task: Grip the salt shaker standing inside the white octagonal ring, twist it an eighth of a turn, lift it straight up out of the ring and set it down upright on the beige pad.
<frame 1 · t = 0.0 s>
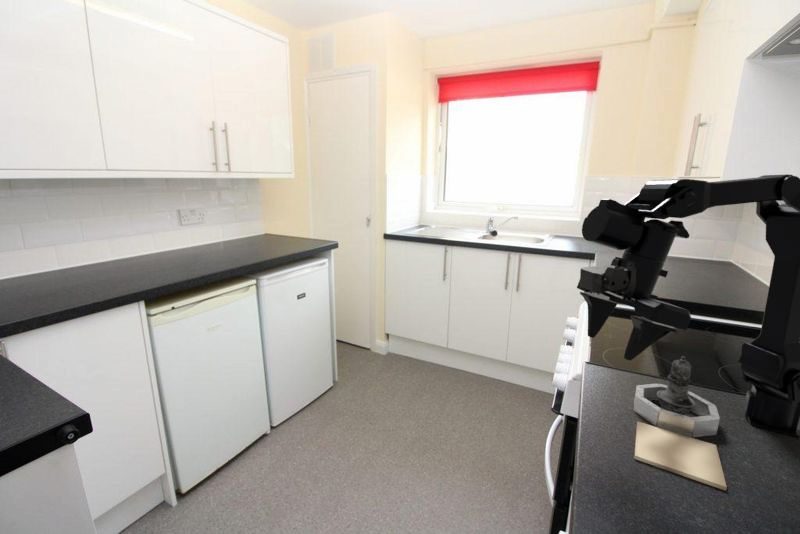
hand: (607, 347, 62), 15 cm above the counter, tool pointing down, fingers open, 9 cm apart
beige pad: (675, 453, 60), on the counter
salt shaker: (672, 416, 71), resting in white octagonal ring
white octagonal ring: (672, 415, 71), on the counter
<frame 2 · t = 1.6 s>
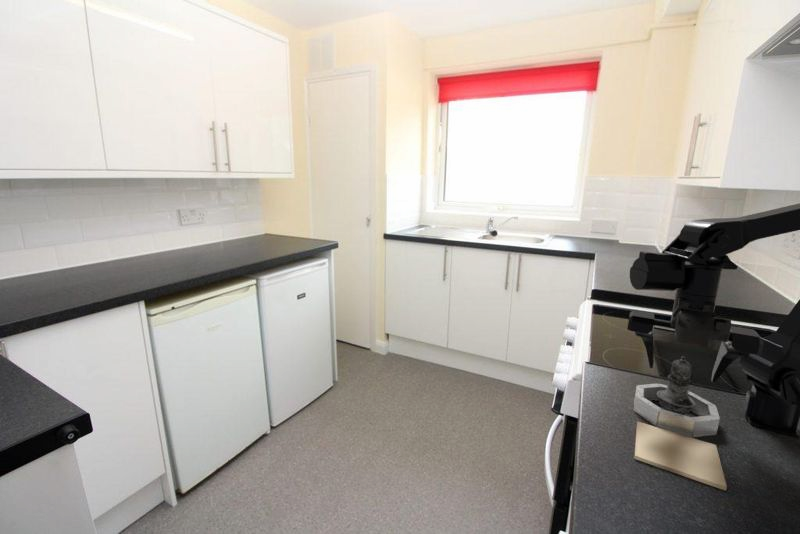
hand: (680, 374, 69), 8 cm above the counter, tool pointing down, fingers open, 9 cm apart
nothing on the counter moved.
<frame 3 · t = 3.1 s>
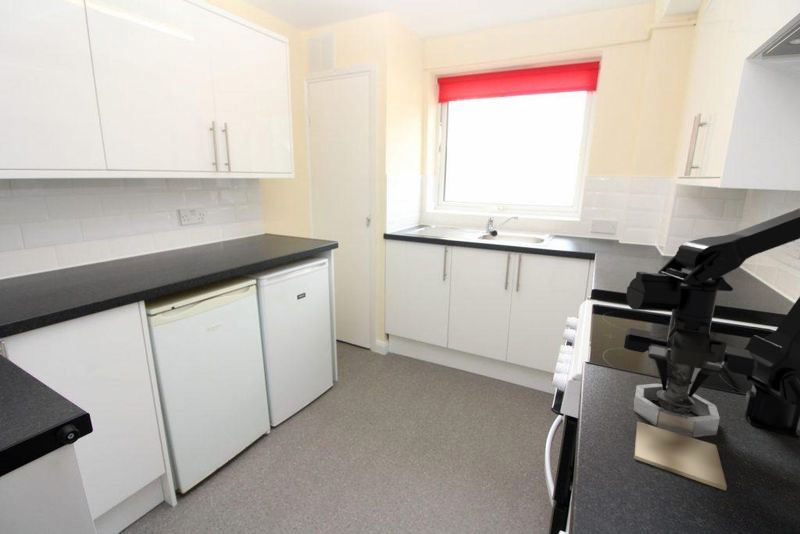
hand: (676, 392, 70), 5 cm above the counter, tool pointing down, fingers closed on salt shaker, 3 cm apart
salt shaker: (672, 416, 71), resting in white octagonal ring, touching gripper
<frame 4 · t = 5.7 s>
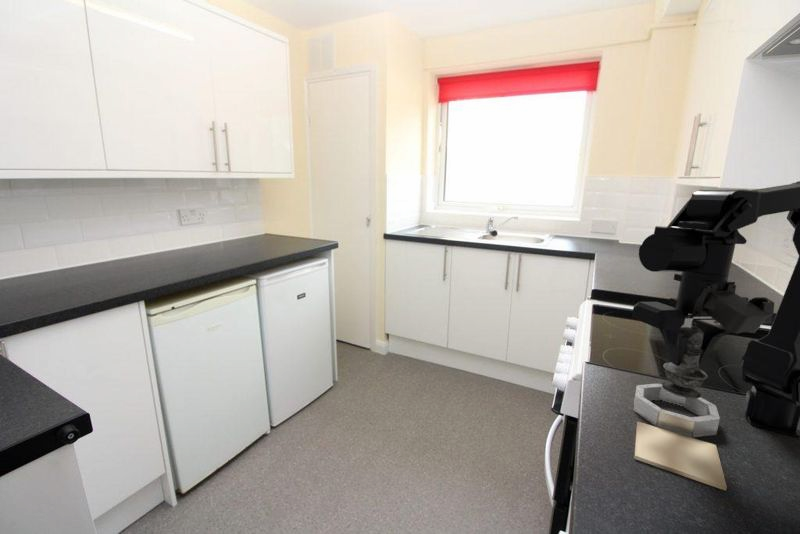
hand: (685, 364, 62), 13 cm above the counter, tool pointing down, fingers closed on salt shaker, 3 cm apart
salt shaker: (680, 391, 63), point 9 cm above the counter, touching gripper
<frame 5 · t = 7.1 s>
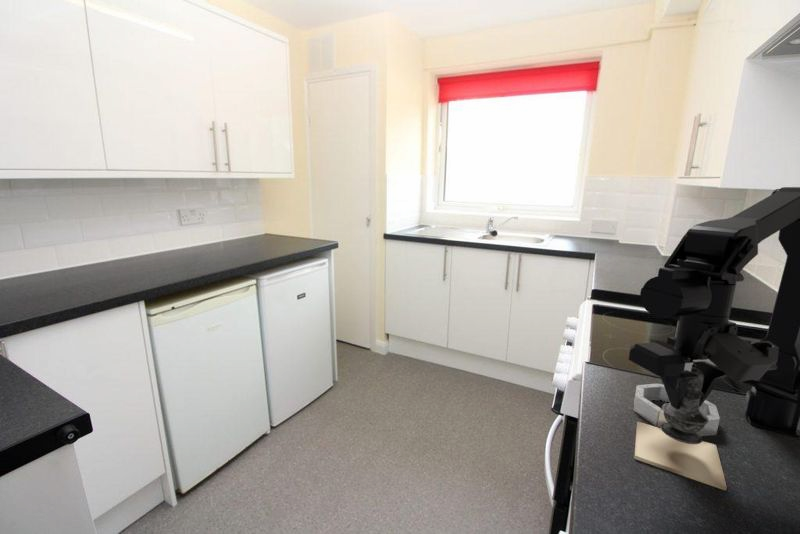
hand: (685, 406, 59), 8 cm above the counter, tool pointing down, fingers closed on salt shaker, 3 cm apart
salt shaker: (680, 434, 60), point 3 cm above the counter, touching gripper
when the fingers open (7 cm above the counter, at t = 8.2 s): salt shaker drops 1 cm, resting on beige pad.
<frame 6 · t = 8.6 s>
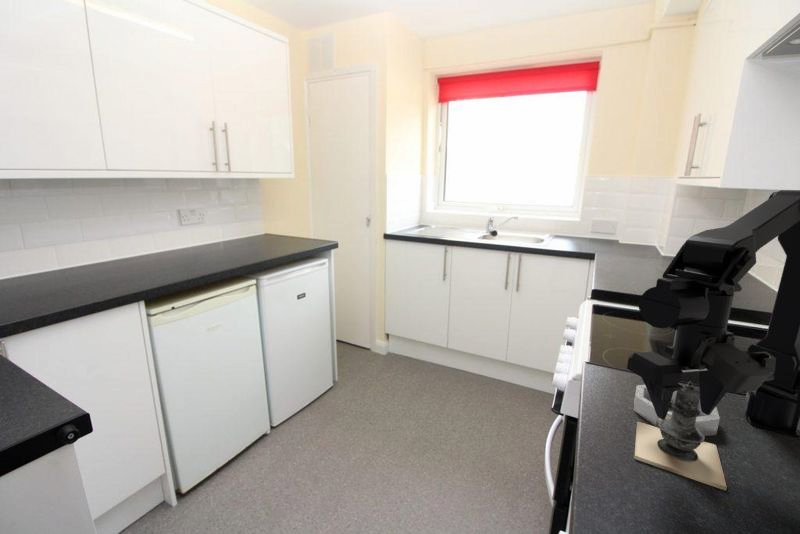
hand: (683, 415, 59), 7 cm above the counter, tool pointing down, fingers open, 8 cm apart
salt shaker: (676, 451, 60), resting on beige pad
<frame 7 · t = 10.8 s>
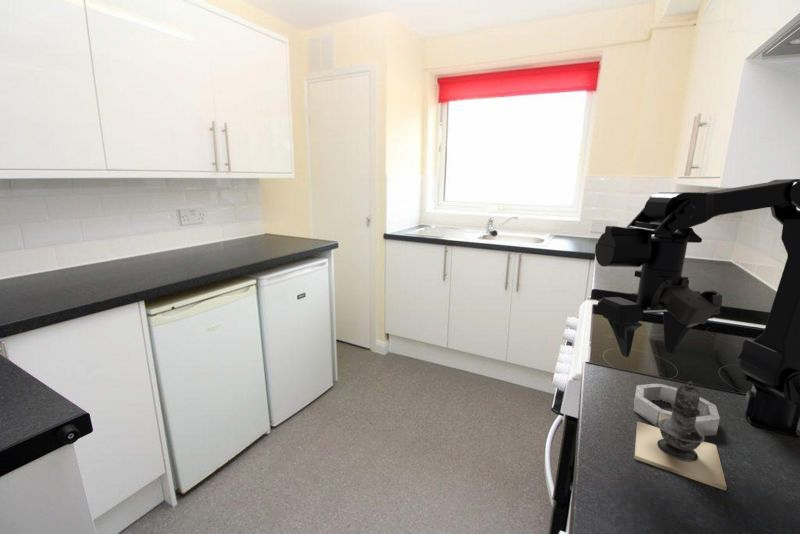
hand: (647, 354, 66), 13 cm above the counter, tool pointing down, fingers open, 9 cm apart
nothing on the counter moved.
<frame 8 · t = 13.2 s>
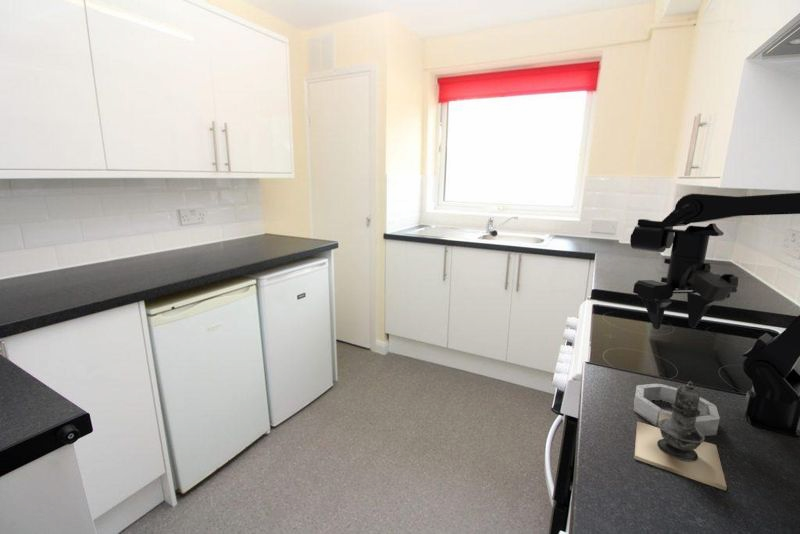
hand: (674, 328, 80), 13 cm above the counter, tool pointing down, fingers open, 9 cm apart
nothing on the counter moved.
at the end: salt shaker inside the target area on the beige pad (0.1 cm from its centre), point 0.4 cm above the beige pad's base; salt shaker tilted 0°; the gripper is holding nothing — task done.
